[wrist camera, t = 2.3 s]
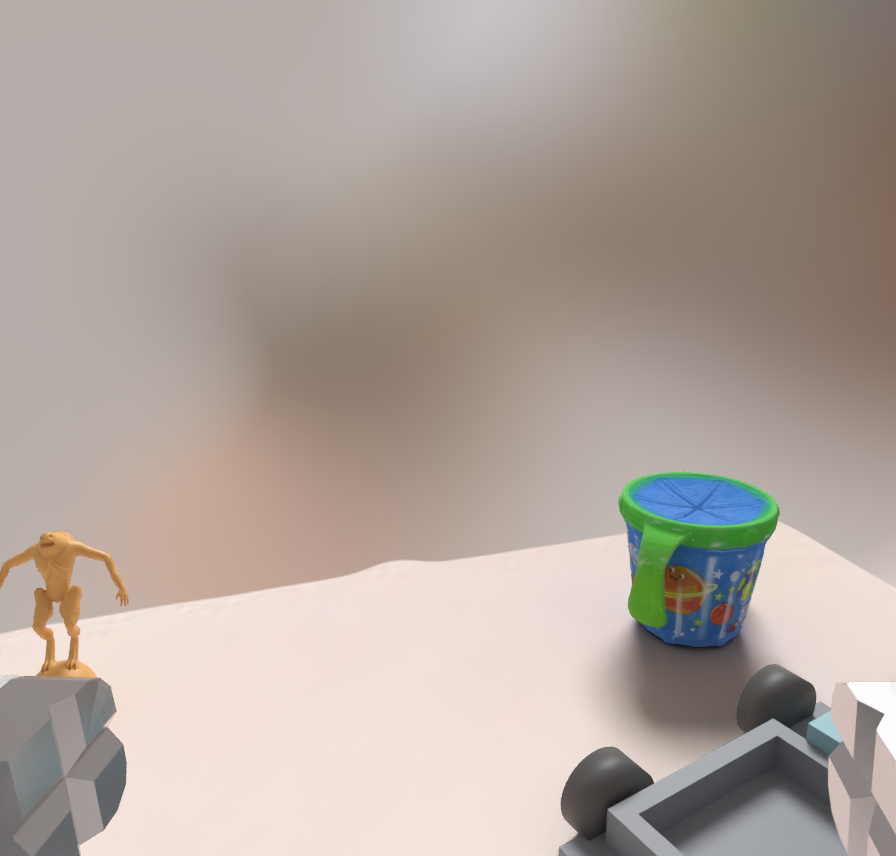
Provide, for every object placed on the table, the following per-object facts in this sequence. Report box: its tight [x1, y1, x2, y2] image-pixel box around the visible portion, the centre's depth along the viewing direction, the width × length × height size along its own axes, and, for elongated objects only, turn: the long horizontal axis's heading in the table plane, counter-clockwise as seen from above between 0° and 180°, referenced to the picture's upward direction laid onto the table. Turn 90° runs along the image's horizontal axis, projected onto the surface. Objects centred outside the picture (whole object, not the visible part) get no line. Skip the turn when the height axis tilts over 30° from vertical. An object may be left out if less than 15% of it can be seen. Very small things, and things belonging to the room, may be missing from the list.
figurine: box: [0, 531, 128, 678], centre depth 49 cm, size 8×6×12 cm
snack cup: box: [619, 472, 779, 647], centre depth 57 cm, size 16×10×10 cm
